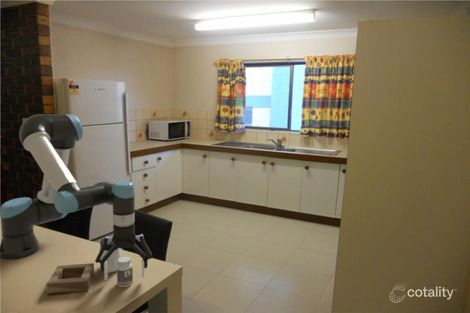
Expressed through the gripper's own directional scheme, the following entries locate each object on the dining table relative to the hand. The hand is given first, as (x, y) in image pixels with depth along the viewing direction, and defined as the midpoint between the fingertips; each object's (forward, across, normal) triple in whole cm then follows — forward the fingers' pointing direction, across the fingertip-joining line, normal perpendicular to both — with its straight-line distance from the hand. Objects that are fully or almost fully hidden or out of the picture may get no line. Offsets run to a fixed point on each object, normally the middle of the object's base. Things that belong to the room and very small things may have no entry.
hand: (124, 277), depth 123 cm
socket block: (+3, -19, +3) cm, 19 cm away
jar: (+3, -6, +13) cm, 15 cm away
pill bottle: (+3, 0, 0) cm, 3 cm away
